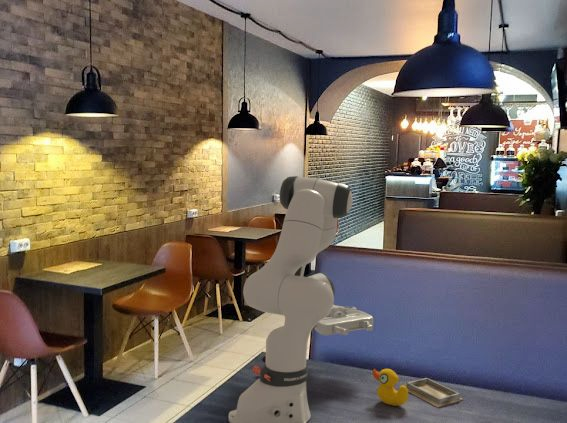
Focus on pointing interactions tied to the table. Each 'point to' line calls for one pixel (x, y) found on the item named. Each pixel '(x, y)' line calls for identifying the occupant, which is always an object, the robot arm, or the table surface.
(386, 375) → the duckling
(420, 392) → the shallow wooden tray
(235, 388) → the table surface
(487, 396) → the table surface
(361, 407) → the table surface
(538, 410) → the table surface
